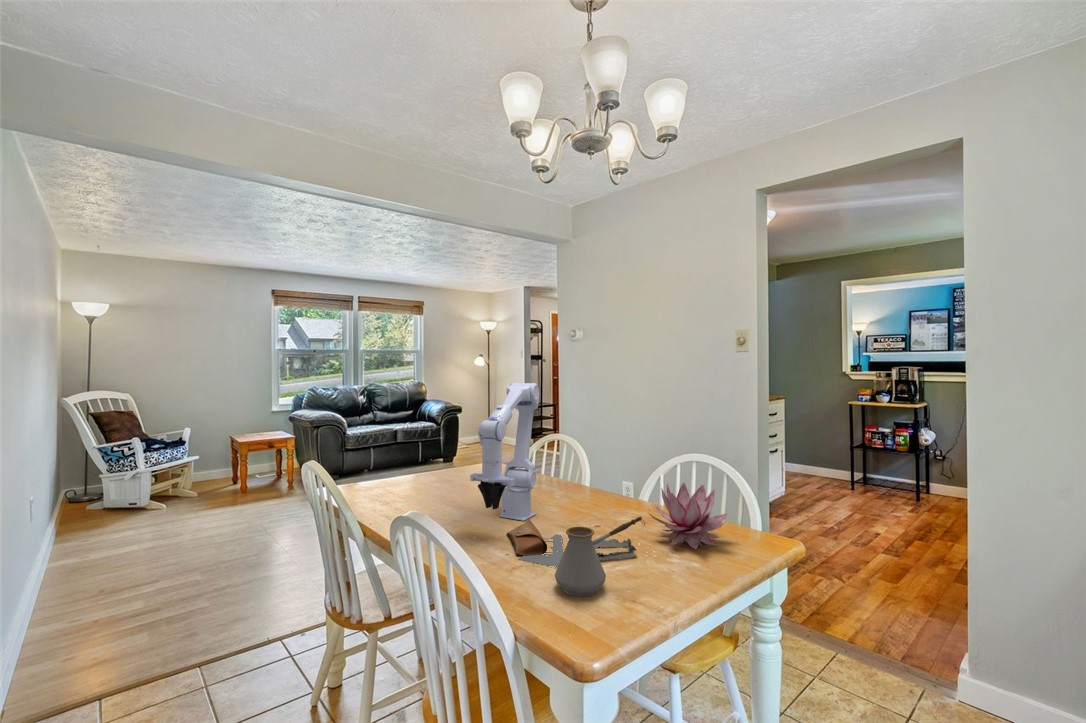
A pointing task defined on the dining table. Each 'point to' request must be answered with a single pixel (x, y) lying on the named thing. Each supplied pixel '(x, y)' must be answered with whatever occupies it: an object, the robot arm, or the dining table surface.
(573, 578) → the coffee pot
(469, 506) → the dining table surface
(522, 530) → the sunglasses case
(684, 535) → the decorative flower
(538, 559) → the rubber mat
